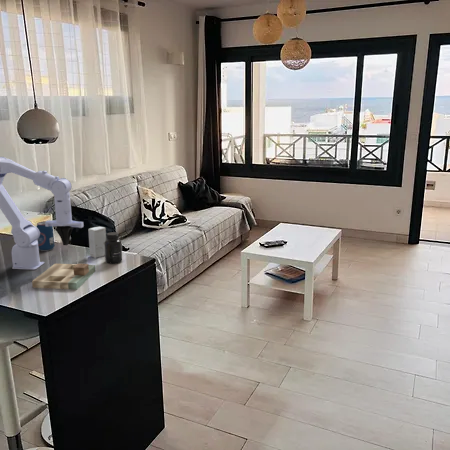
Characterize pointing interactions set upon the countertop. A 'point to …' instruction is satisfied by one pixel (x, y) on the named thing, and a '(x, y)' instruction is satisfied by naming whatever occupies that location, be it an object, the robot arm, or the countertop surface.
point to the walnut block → (81, 269)
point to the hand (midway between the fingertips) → (66, 244)
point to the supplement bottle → (113, 248)
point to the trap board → (61, 277)
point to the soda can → (45, 237)
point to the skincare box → (97, 241)
